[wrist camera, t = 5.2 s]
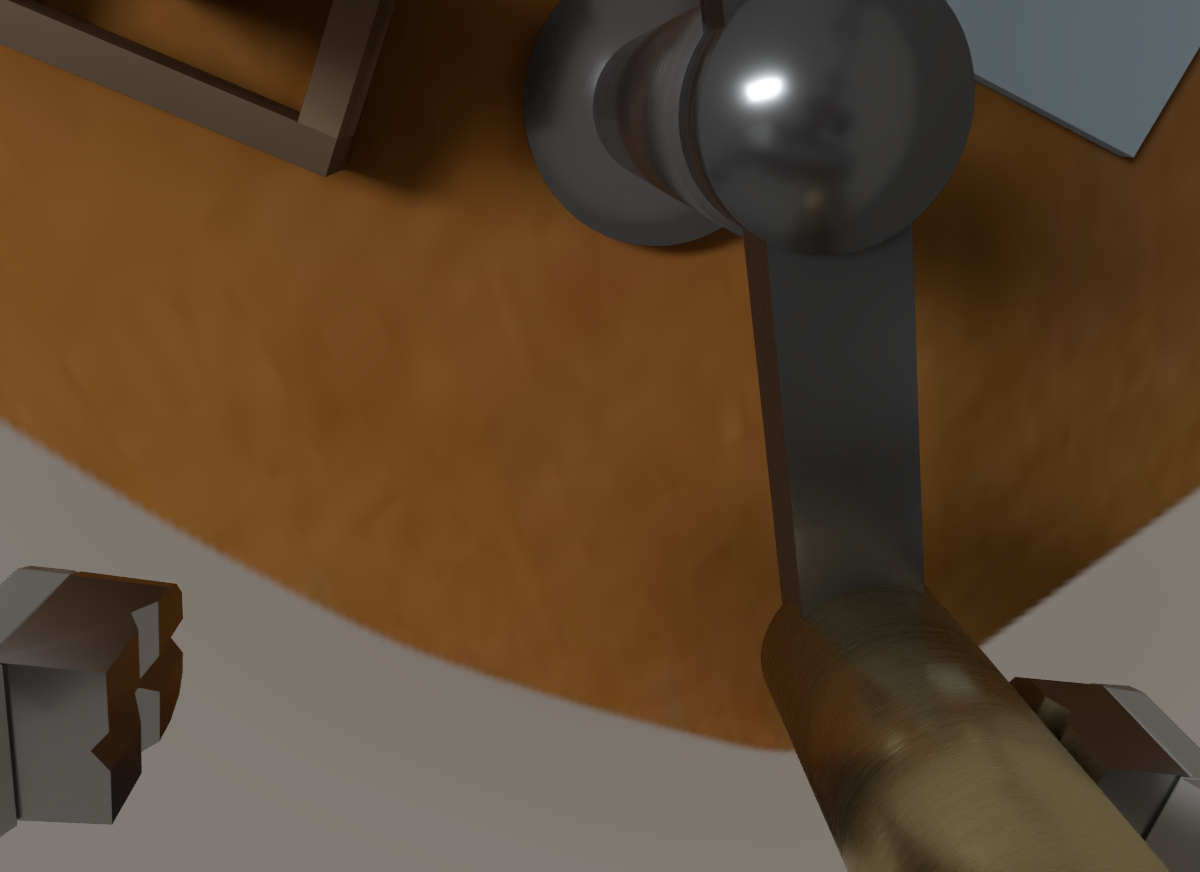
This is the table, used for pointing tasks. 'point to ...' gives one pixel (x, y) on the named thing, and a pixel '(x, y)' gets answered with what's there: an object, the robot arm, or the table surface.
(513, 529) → the table surface
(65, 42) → the brown square frame
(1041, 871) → the lever
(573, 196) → the latch post
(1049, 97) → the pad
